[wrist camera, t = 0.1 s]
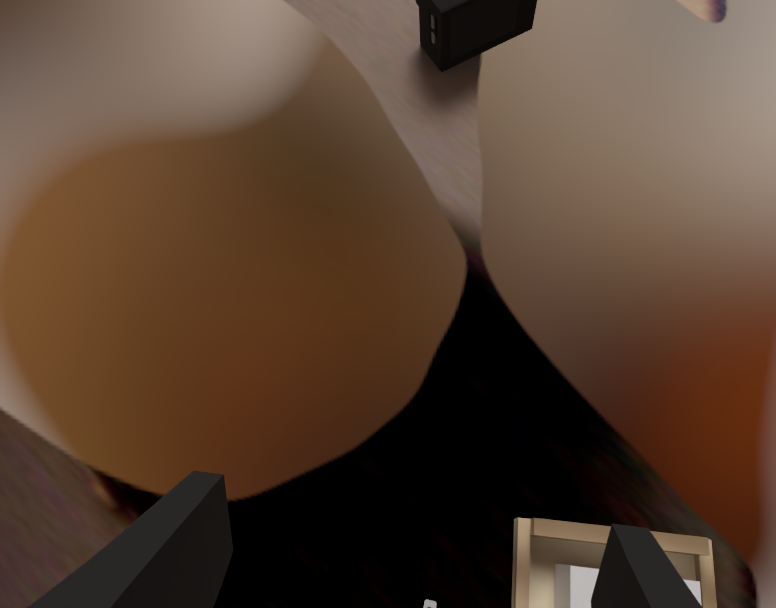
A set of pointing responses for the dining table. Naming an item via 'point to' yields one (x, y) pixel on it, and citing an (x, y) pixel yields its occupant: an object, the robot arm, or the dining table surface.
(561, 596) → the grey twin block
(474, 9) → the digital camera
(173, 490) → the robot arm
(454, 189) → the dining table surface
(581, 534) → the beige tray
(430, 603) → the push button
